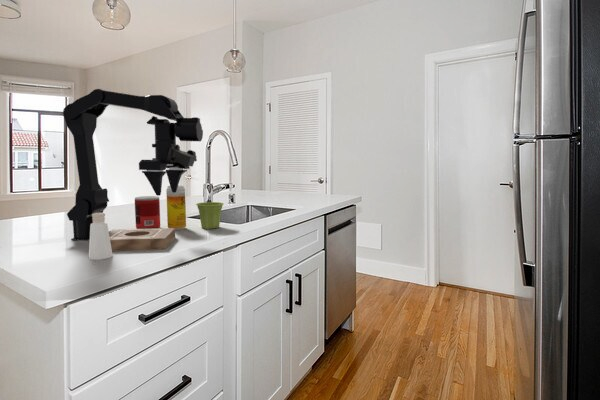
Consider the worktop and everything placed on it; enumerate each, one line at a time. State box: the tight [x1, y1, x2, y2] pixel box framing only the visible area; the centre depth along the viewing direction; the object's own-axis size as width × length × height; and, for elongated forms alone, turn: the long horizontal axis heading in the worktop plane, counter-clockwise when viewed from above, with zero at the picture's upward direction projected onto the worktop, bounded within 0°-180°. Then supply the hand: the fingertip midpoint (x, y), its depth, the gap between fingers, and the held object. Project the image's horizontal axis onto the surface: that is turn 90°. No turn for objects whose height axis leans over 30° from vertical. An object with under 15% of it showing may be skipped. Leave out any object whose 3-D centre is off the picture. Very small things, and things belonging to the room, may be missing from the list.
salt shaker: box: [88, 212, 114, 261], centre depth 86 cm, size 5×5×11 cm
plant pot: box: [195, 201, 224, 230], centre depth 124 cm, size 9×9×9 cm
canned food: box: [134, 195, 161, 229], centre depth 121 cm, size 8×8×11 cm
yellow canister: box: [165, 185, 187, 231], centre depth 121 cm, size 6×6×15 cm
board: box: [108, 227, 176, 252], centre depth 100 cm, size 18×14×3 cm
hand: (166, 193), depth 104 cm, fingers open, 9 cm apart
